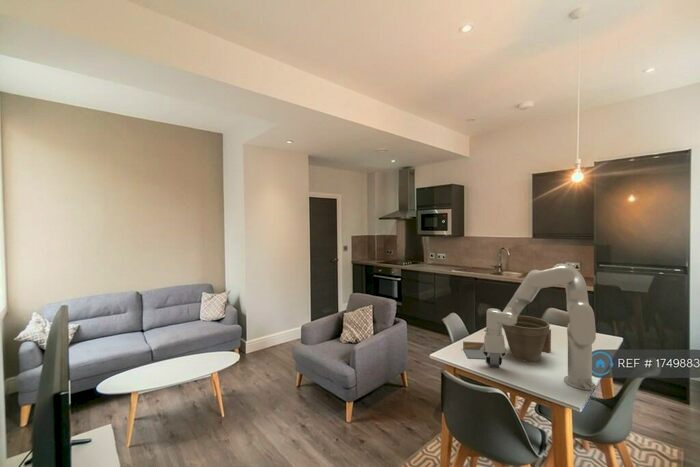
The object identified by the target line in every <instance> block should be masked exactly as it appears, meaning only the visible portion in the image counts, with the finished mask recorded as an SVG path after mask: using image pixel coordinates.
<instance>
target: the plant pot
mask: <svg viewBox="0 0 700 467" xmlns="http://www.w3.org/2000/svg"><path fill="white" fill-rule="evenodd" d="M550 327H551V326H550V323H549V322H548V321H547V320H544V319H542V318H538V317H534V316H530V315H529V316H528V315H520V314H519V315H518V317H517V323H516V324H515V325H514V326H506V325H503V324H502V330H504V334H505V338H506V341H507V342H506V343H507V345H508V348H509V352H510V353H511V357H513V358H515V359H517V360H519V361H522V362H523V361H524V362H532V363H533V362H537V361H539V360H540V359H541V355H542V353H543V351H542V350H543V346H544V343H545V340H546V336H547V334H548V333H549V330H550Z"/></svg>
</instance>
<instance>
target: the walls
mask: <svg viewBox="0 0 700 467" xmlns="http://www.w3.org/2000/svg"><path fill="white" fill-rule="evenodd" d="M483 345H484V341H482V342H481V341H465V340H463V341H462V348H463V349H462V350H463V351H464V349H473V350H480V348H481V347H482V346H483ZM484 350H485V349H484Z"/></svg>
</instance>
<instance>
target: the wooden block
mask: <svg viewBox="0 0 700 467" xmlns="http://www.w3.org/2000/svg"><path fill="white" fill-rule="evenodd" d="M542 352H543V353H544V352H545V353H551V352H552V329H550V328H549V333H548V334H547V336H546V340H545V343H544V346H543V350H542Z"/></svg>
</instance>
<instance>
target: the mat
mask: <svg viewBox="0 0 700 467" xmlns="http://www.w3.org/2000/svg"><path fill="white" fill-rule="evenodd" d="M463 351H464V353H465V355H466V358H467V359H468V360H469V359H473V360H485V361H486V355H485V354H484V353H483V352H481V351H480V350H473V349H464V350H463ZM484 351H485V350H484ZM485 352H486V351H485Z"/></svg>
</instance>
